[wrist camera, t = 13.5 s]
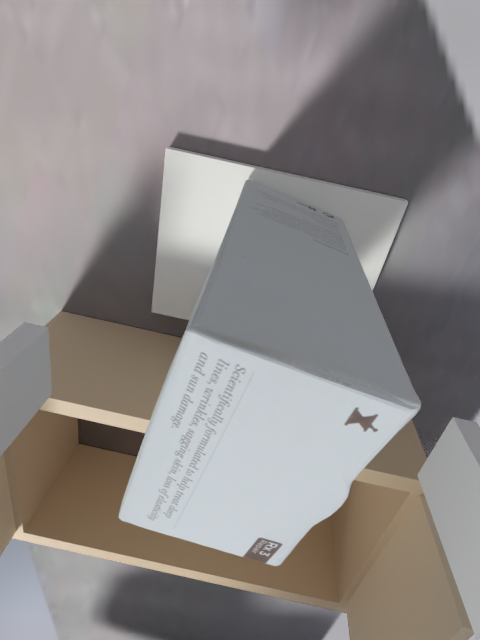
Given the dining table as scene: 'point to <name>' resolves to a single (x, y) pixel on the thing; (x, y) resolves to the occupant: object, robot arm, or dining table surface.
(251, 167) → the pad
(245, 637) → the dining table surface
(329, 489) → the skincare box
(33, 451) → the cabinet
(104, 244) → the dining table surface
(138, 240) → the dining table surface
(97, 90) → the dining table surface
